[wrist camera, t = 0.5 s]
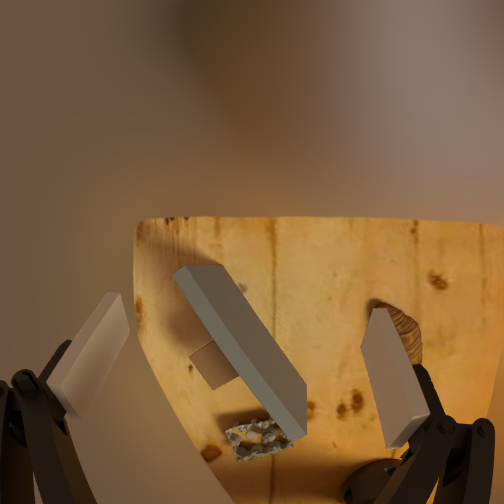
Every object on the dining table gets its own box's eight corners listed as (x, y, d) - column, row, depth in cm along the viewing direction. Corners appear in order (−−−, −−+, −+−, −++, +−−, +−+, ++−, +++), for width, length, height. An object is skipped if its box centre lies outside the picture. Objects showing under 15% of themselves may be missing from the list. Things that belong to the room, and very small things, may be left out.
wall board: (306, 384, 45) (306, 434, 29) (256, 412, 46) (237, 465, 30) (222, 265, 48) (184, 265, 32) (176, 298, 49) (124, 311, 33)
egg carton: (239, 451, 46) (234, 463, 42) (226, 420, 47) (220, 431, 43) (295, 442, 45) (294, 454, 41) (284, 409, 46) (282, 421, 41)
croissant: (431, 350, 42) (443, 358, 37) (400, 375, 43) (409, 386, 38) (393, 289, 44) (403, 292, 39) (360, 315, 44) (367, 321, 39)
